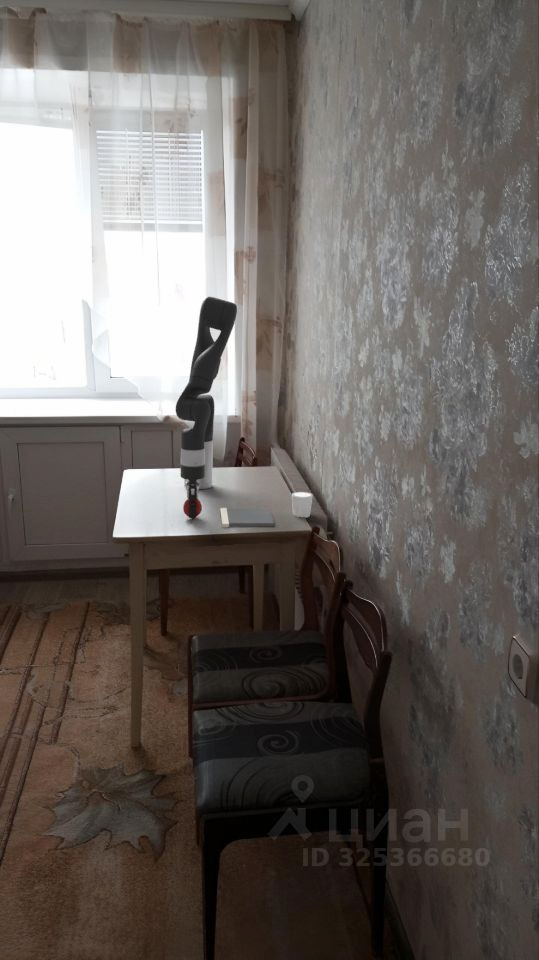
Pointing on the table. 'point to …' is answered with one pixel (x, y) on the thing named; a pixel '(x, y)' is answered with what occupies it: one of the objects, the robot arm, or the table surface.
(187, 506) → the onion
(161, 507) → the table surface
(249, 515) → the mat
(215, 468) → the table surface
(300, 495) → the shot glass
